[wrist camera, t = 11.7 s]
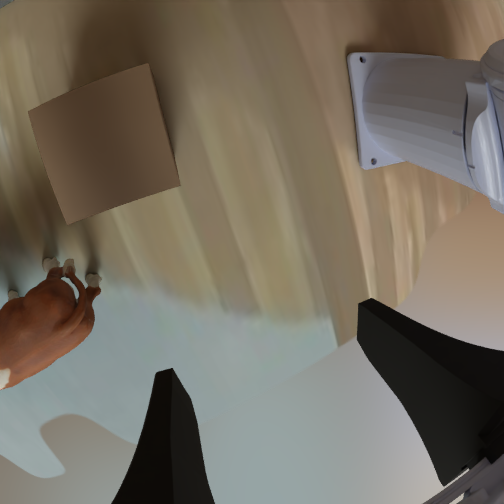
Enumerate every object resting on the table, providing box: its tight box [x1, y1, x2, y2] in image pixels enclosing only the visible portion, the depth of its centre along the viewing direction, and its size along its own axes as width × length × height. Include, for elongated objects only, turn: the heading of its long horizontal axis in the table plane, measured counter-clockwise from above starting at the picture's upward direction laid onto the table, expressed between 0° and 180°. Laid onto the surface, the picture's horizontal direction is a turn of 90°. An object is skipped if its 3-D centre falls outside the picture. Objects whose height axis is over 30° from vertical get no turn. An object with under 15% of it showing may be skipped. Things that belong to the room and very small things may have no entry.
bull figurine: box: [0, 257, 102, 390], centre depth 15 cm, size 4×13×8 cm, turn 109°
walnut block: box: [28, 63, 181, 225], centre depth 13 cm, size 5×5×6 cm
